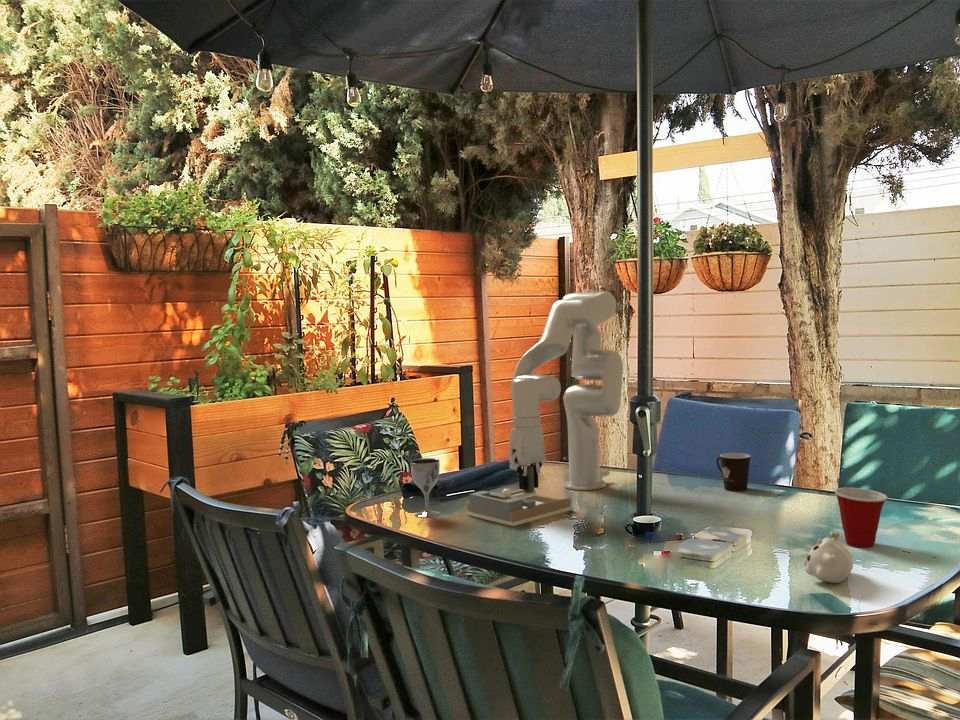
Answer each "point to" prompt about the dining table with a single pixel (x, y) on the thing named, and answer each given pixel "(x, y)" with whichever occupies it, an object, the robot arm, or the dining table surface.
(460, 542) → the dining table surface
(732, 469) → the coffee mug
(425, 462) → the wine glass
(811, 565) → the white bulbous lump
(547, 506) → the foosball lane
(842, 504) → the plastic cup
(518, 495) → the kicker rod
